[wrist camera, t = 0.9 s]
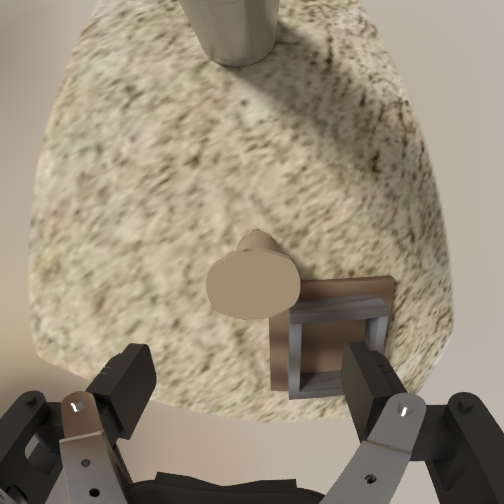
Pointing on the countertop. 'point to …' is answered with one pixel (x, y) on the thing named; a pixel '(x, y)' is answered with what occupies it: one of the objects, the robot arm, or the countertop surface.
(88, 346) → the countertop surface
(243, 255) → the handle
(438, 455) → the robot arm
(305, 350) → the socket block
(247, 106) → the countertop surface
